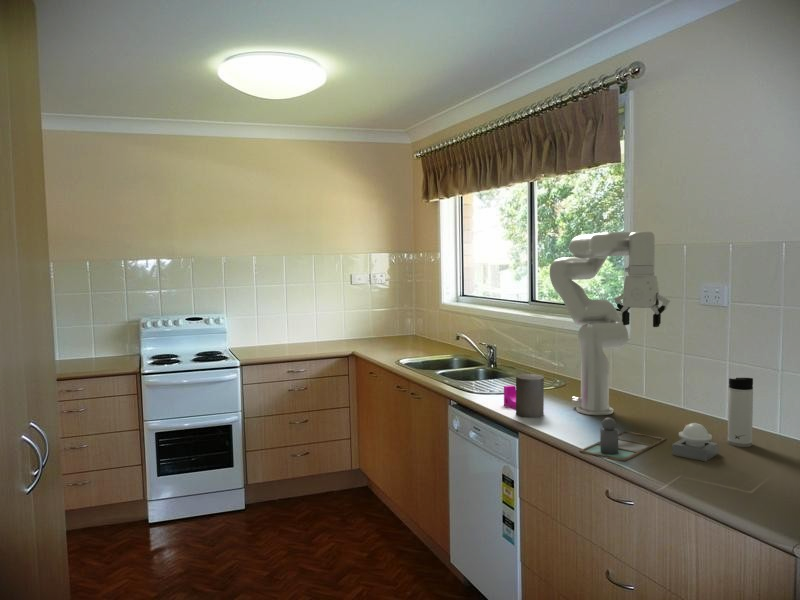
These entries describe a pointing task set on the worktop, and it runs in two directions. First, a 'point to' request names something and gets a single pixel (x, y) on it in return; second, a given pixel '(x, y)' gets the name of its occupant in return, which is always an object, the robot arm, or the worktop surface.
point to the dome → (695, 435)
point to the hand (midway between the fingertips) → (640, 325)
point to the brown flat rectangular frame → (623, 448)
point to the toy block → (510, 396)
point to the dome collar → (695, 450)
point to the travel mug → (740, 412)
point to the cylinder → (609, 437)
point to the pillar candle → (529, 395)
